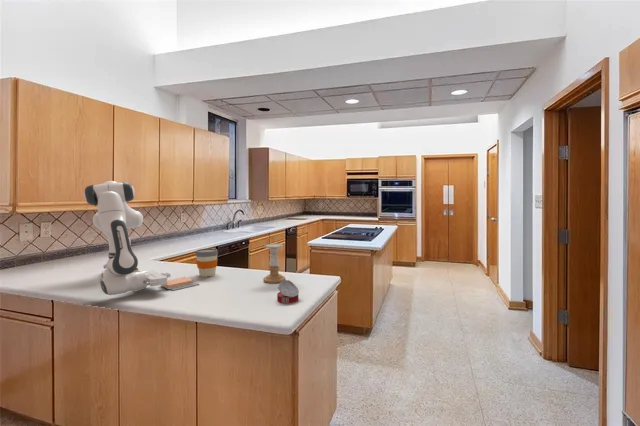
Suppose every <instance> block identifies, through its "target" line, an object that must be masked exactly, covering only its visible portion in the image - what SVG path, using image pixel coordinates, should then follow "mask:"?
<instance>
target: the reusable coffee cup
mask: <svg viewBox="0 0 640 426" xmlns="http://www.w3.org/2000/svg"><path fill="white" fill-rule="evenodd" d="M218 255H219V252H218V249H217V248H201V249H197V250H196V251H195V257H196V267H197V269H198V274H199V276H200V277H201V276H203V277H202V278H208V277H207V276H210V277H213V275H214V276H215V275H216V273H217V271H216V270H217V267H218Z"/></svg>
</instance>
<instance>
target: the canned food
mask: <svg viewBox="0 0 640 426" xmlns="http://www.w3.org/2000/svg"><path fill="white" fill-rule="evenodd" d="M277 288H278V291H279V292H278V293H277V294H276V297H277V298H276V299H277V300H276V301H277V302H278V303H281V304H293V302H294V303H297V302H298V301H299V292H300V291H299V289H298V287H297V286H296V284H295V283H293V282H292V281H291V280H290V279H285V280H284V281H282V282H280V283H278V287H277ZM296 301H297V302H296Z"/></svg>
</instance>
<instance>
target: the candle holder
mask: <svg viewBox="0 0 640 426" xmlns="http://www.w3.org/2000/svg"><path fill="white" fill-rule="evenodd" d="M283 247H284V244H282V243H267V244H264V248H266V249H268V250H269V251H270V254H269V257H270V259H269V263H268V265H269V266H270V267H269V268H268V269H269V274H267V275H266V276H264V277H263V279H262V280H263V282H264V283H267V284H280V283H281V282H282V281H284V280H286V277H285V276H284V275H282V274H281V273H279V270H280V266H279V265H280V262H279V260H278V257H279V254H278V251H279V249H281V248H283Z"/></svg>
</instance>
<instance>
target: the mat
mask: <svg viewBox="0 0 640 426" xmlns="http://www.w3.org/2000/svg"><path fill="white" fill-rule="evenodd" d="M196 285H197V286H200V283H198V282H196V281H193V284H189V285H185V286H181V287H176V288H172V289H169V290H170V291H172V292H173V291H178V290H183V289H184V290H185V289H187V288H192V287H195V286H196ZM197 286H196V287H197Z"/></svg>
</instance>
